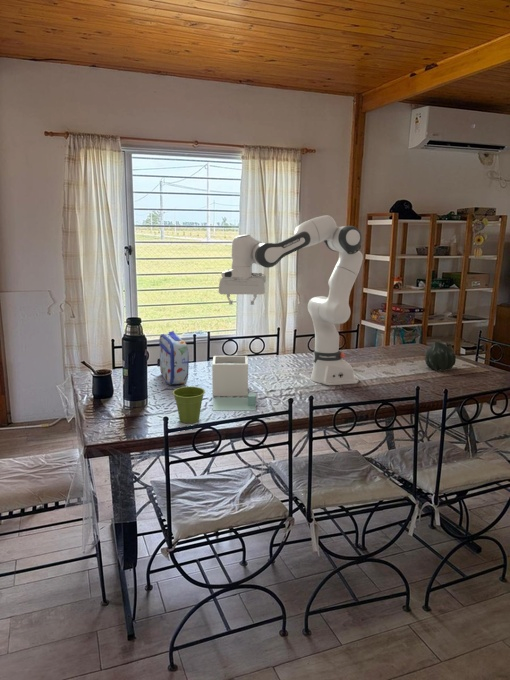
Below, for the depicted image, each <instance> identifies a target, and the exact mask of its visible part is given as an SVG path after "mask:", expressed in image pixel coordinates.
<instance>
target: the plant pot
mask: <svg viewBox="0 0 510 680" xmlns="http://www.w3.org/2000/svg"><path fill="white" fill-rule="evenodd" d="M205 393H206V390H205V389H204V388H202V387H200V386H199V387H198V386H181V387H178V388H175V389H174V390H173V391H172V395H173V396H174V400H175V402H176V409H177V412H178V418H179V422H180V423H183V424H188V423H189V424H193V423H197V422H198V421H200V416H201V409H202V403H203V398H204V394H205Z"/></svg>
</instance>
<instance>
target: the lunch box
mask: <svg viewBox="0 0 510 680" xmlns="http://www.w3.org/2000/svg"><path fill="white" fill-rule="evenodd" d="M158 341H159V342H158V344H159V358H157V362H156V364H157V367H158V368H159V367H160V368H159V369H160V374H161V376H162V377H163V379H164V381H165V382H166V383H167V384H168V385H181V384H186V383H187V382H188V379H189V367H190V365H189V364H190V359H189V357H190V355H189V349H188V345H187V343H186V341H185V340H183V339H182V337H180V336H179V335H178V334H177V333H175V331H174V330H172V331H168V333H163V334H160V336H159V340H158Z"/></svg>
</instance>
